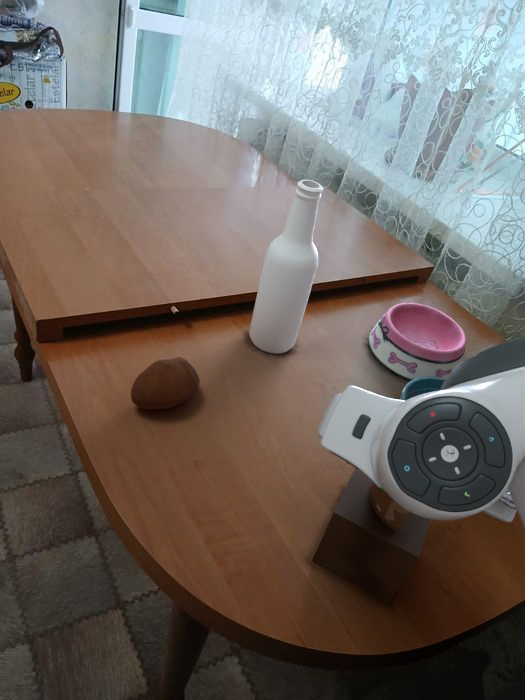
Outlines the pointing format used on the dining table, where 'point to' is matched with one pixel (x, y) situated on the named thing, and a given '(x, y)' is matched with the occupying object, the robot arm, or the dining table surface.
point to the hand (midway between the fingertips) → (409, 458)
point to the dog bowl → (417, 342)
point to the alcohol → (287, 275)
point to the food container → (387, 507)
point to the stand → (369, 542)
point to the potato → (165, 384)
